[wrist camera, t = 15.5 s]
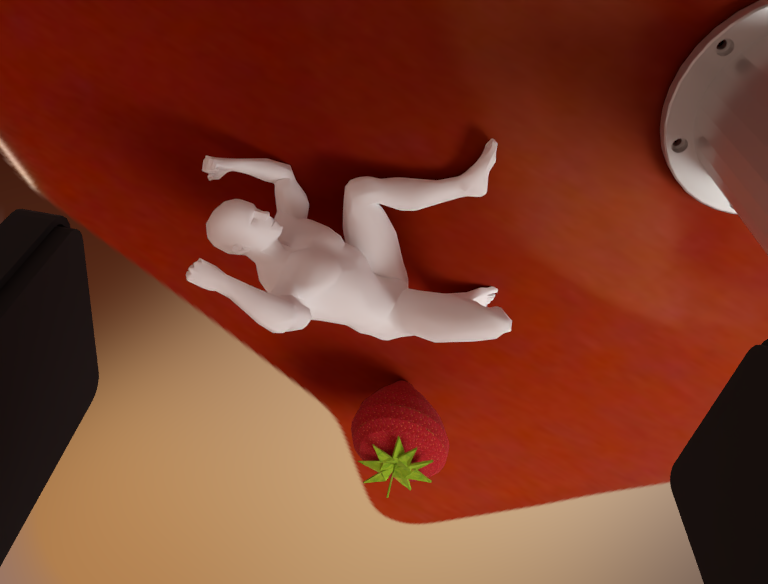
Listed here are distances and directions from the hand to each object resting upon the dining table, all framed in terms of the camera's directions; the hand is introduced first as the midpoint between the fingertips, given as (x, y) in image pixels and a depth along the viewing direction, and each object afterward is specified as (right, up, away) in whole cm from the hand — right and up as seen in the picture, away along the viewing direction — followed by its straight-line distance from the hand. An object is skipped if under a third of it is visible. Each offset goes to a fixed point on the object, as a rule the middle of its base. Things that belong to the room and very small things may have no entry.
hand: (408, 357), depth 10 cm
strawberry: (+1, -6, +42) cm, 43 cm away
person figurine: (-1, +6, +34) cm, 35 cm away
